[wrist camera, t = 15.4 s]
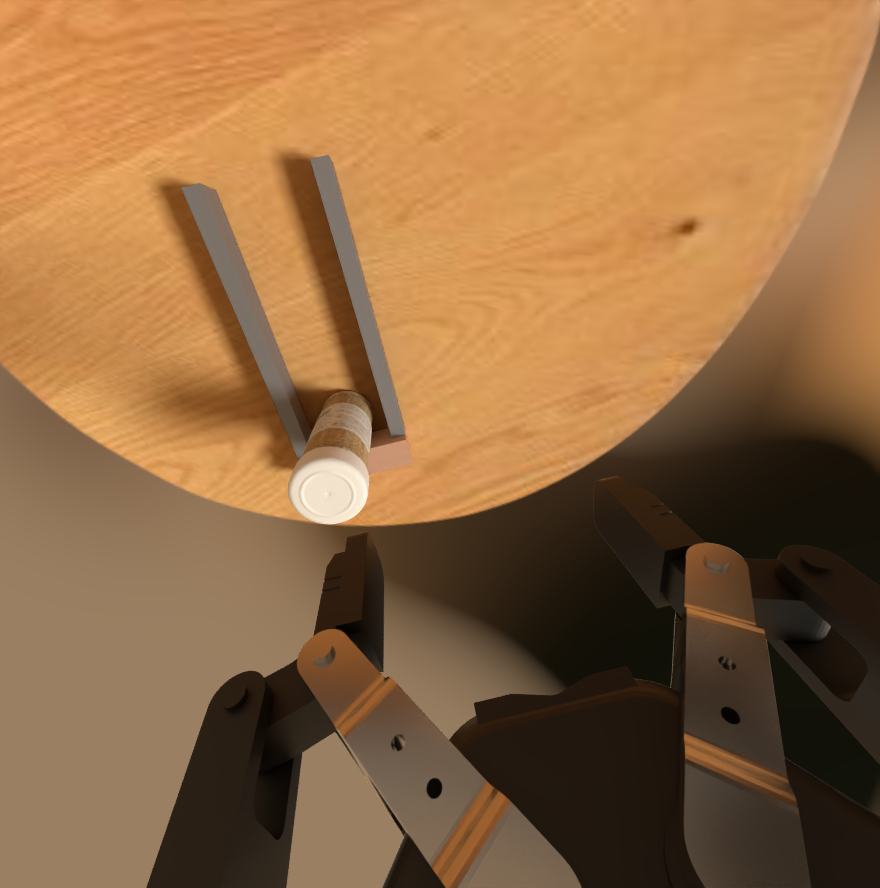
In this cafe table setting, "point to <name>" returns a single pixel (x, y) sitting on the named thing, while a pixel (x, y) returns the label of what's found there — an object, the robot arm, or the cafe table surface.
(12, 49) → the cafe table surface
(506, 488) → the cafe table surface
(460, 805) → the robot arm
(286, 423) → the guide channel
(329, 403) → the sprinkles bottle
